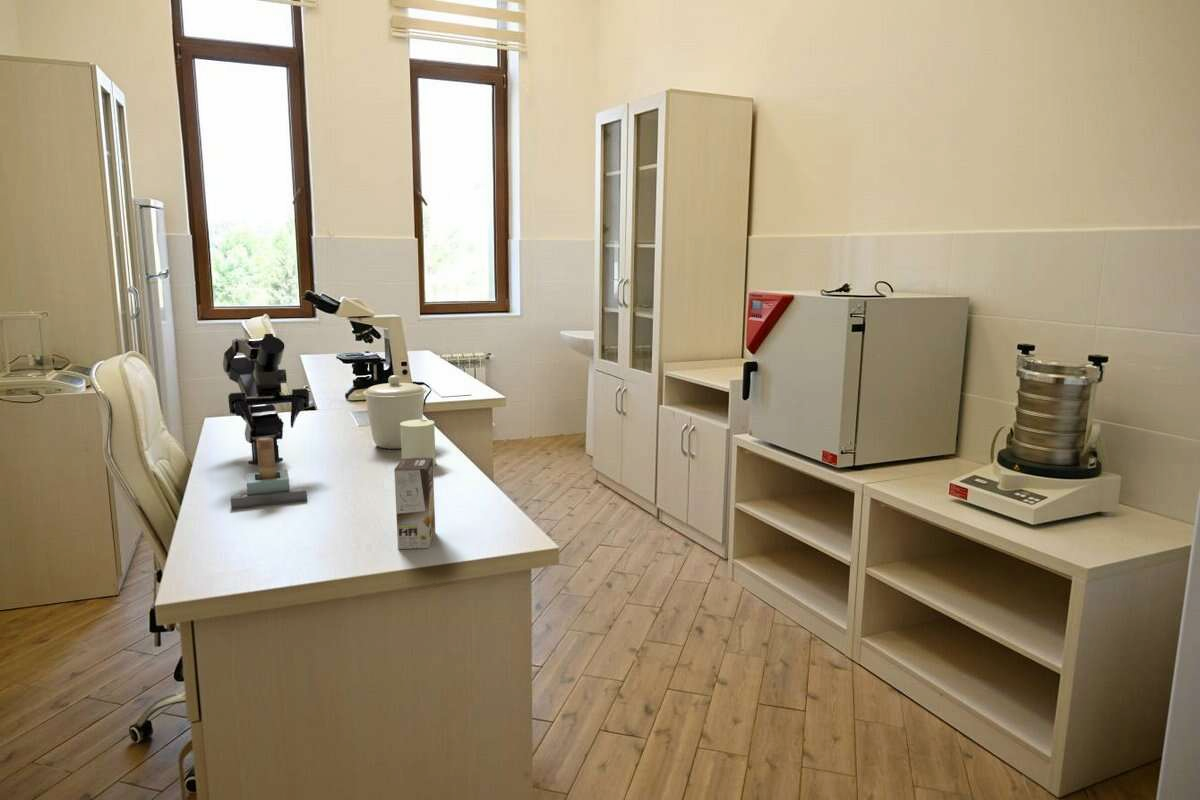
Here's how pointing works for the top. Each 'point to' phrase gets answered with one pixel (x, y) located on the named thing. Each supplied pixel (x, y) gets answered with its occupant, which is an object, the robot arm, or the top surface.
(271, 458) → the dowel
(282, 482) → the socket block
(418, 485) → the coffee box
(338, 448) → the top surface
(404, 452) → the can
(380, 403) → the canister
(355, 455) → the top surface
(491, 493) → the top surface
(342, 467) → the top surface
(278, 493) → the backstop bar
